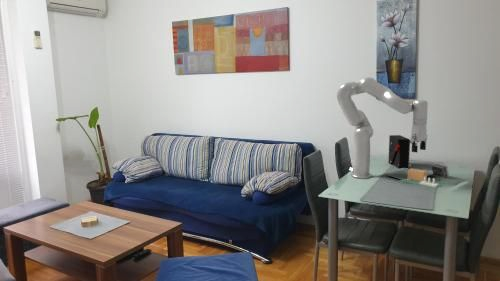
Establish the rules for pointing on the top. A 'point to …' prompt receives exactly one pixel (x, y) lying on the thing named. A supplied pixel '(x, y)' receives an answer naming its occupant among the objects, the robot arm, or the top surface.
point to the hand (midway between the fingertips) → (418, 150)
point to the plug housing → (417, 174)
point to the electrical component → (399, 151)
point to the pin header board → (426, 182)
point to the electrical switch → (440, 169)
